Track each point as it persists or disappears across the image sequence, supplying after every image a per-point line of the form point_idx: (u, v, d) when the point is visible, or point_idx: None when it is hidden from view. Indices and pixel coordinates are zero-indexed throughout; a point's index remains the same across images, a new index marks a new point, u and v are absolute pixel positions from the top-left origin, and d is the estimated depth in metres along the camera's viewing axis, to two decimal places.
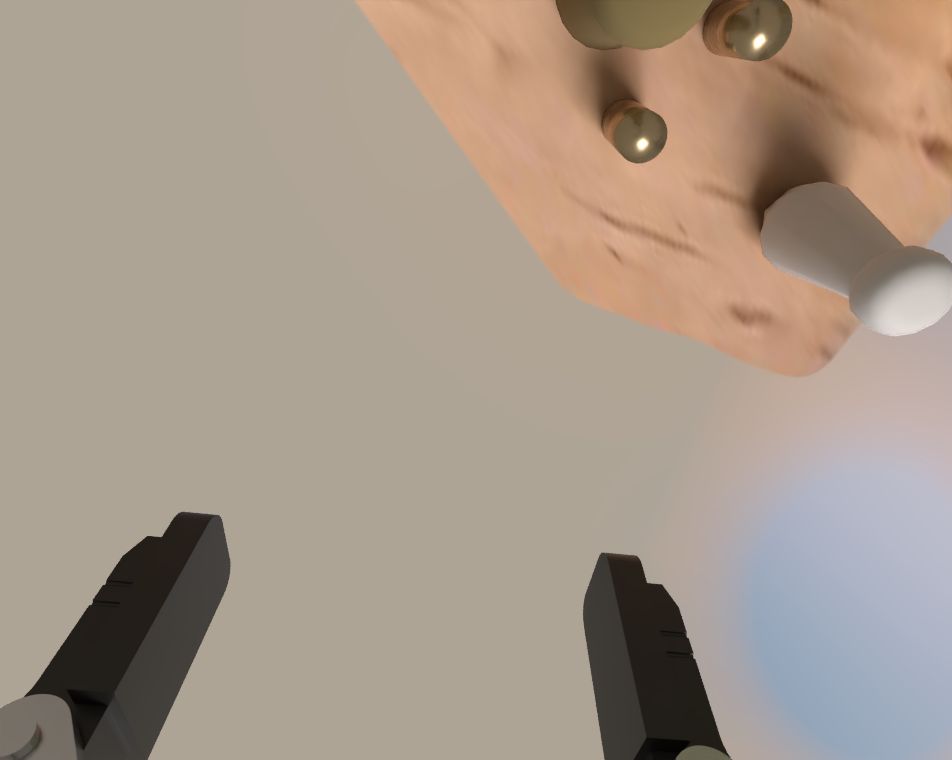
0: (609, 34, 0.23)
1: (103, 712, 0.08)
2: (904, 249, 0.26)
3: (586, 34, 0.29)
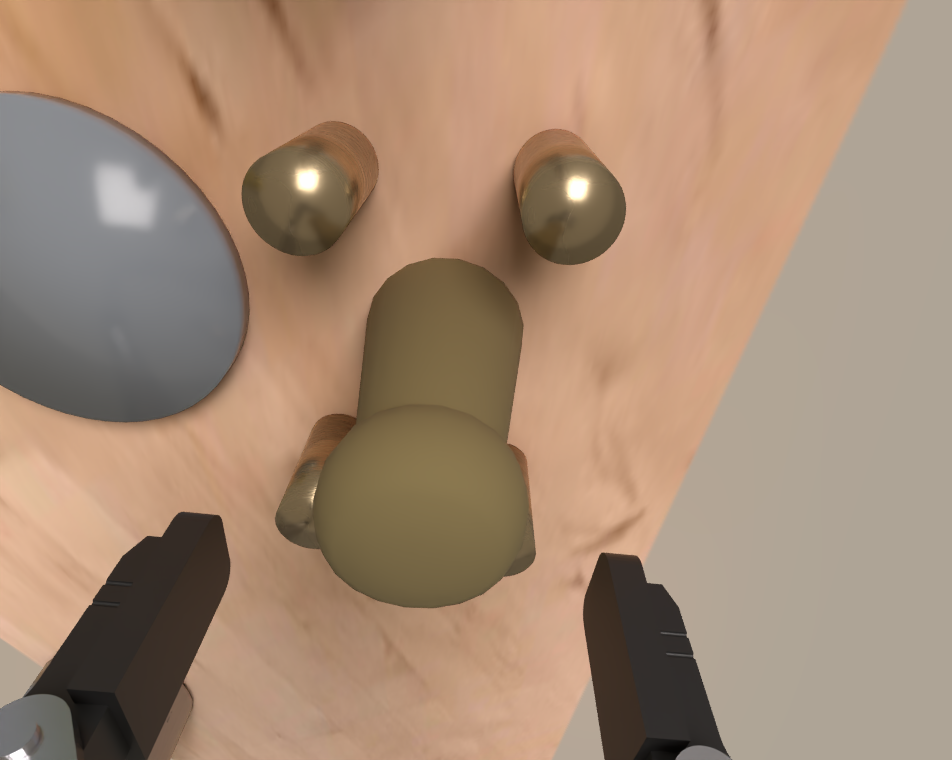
0: (528, 510, 0.13)
1: (103, 712, 0.08)
2: None
3: (516, 357, 0.19)
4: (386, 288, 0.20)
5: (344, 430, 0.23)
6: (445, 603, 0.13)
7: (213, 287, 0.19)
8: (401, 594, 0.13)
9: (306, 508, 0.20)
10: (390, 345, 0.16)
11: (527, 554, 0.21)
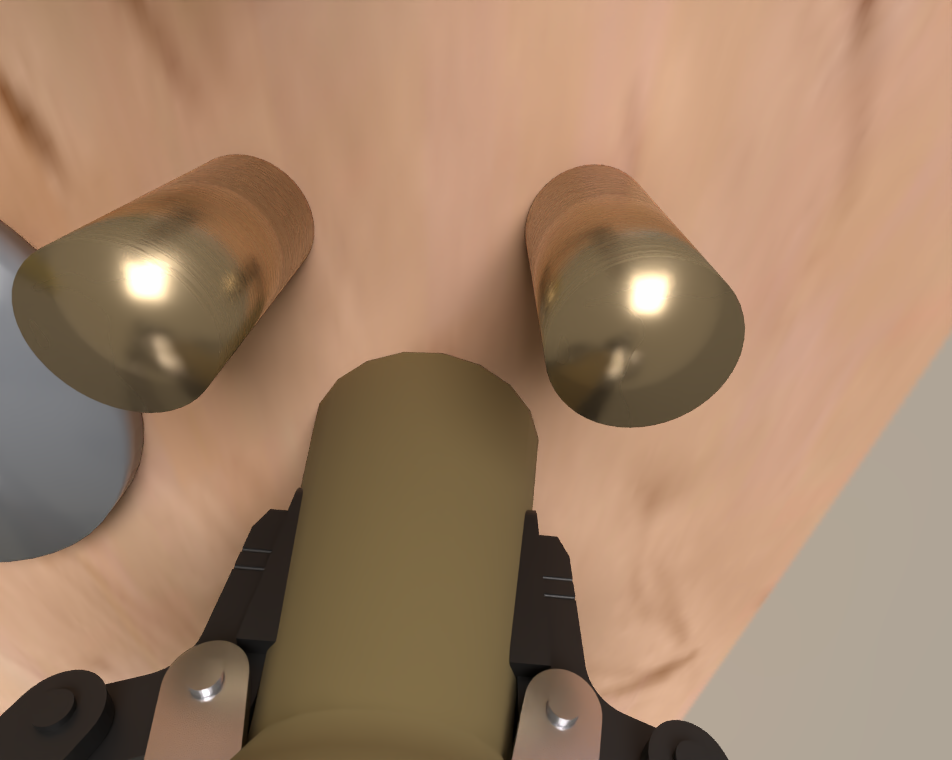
0: None
1: None
2: None
3: None
4: (334, 398, 0.13)
5: None
6: None
7: (75, 399, 0.13)
8: None
9: None
10: (322, 532, 0.10)
11: None
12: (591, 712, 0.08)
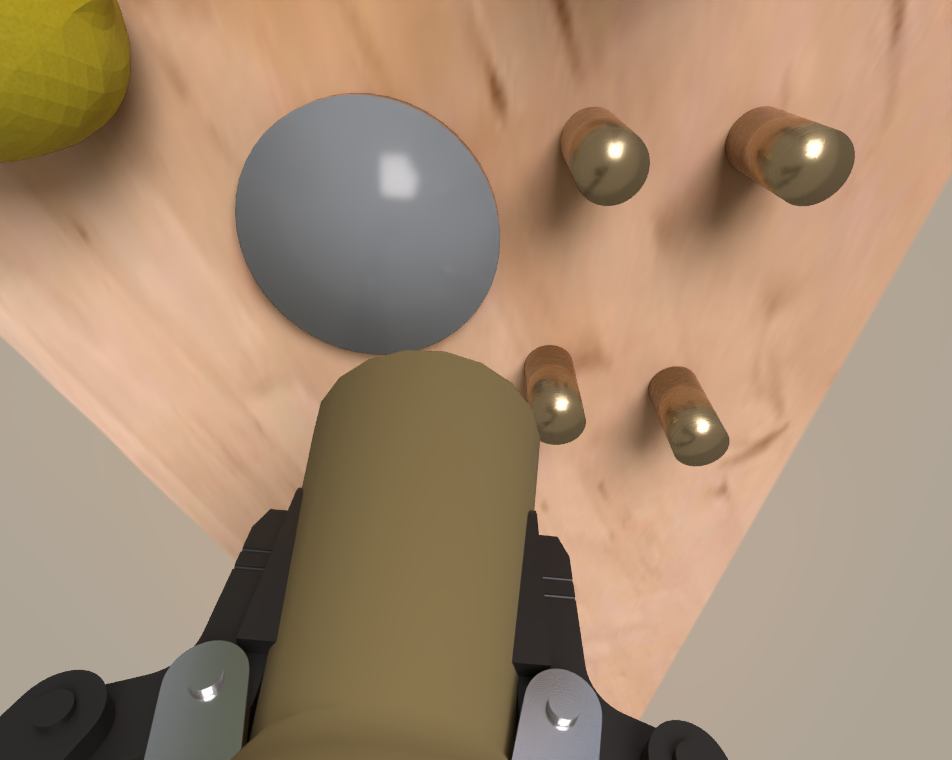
0: None
1: (266, 660, 0.09)
2: None
3: None
4: (336, 397, 0.13)
5: (560, 356, 0.28)
6: None
7: (483, 240, 0.25)
8: None
9: (557, 409, 0.25)
10: (324, 530, 0.10)
11: (722, 445, 0.26)
12: (591, 712, 0.08)
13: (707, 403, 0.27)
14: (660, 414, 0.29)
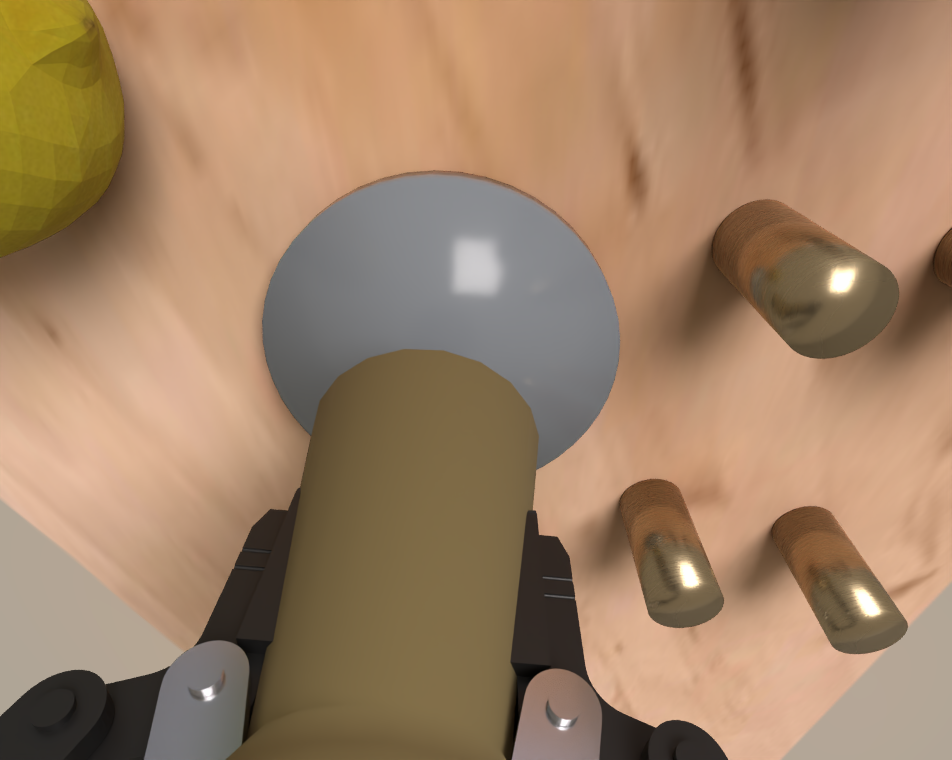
0: None
1: None
2: None
3: (530, 509, 0.12)
4: (334, 396, 0.13)
5: (674, 498, 0.22)
6: None
7: (595, 363, 0.19)
8: None
9: (689, 590, 0.19)
10: (322, 528, 0.10)
11: (896, 634, 0.20)
12: (591, 712, 0.08)
13: (868, 569, 0.21)
14: (800, 575, 0.22)
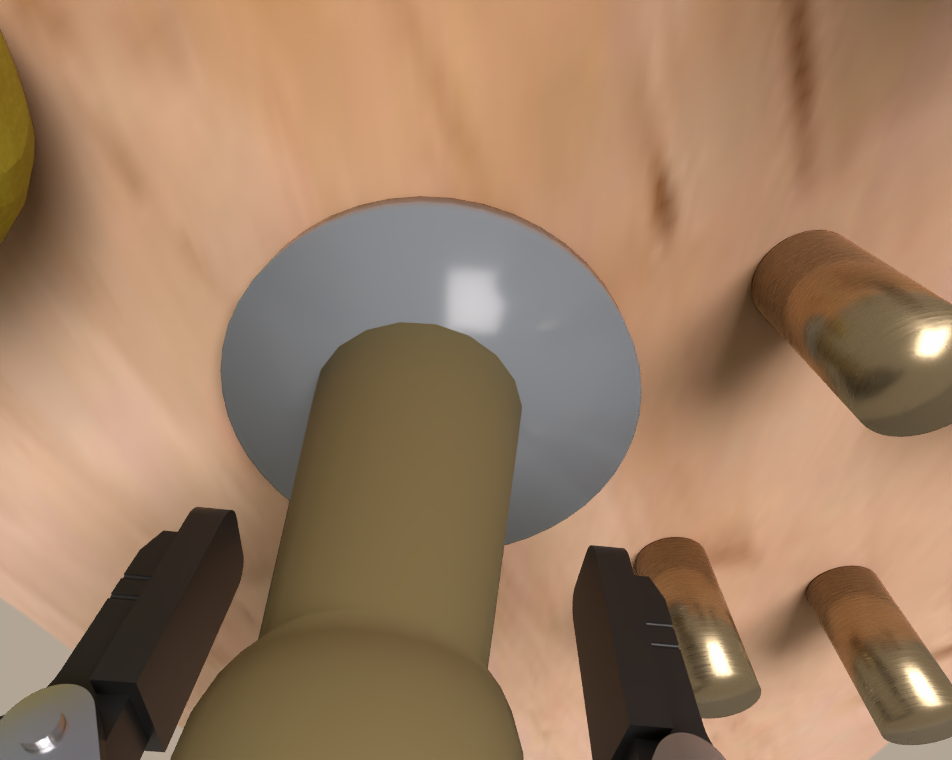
0: None
1: (124, 702, 0.08)
2: None
3: (512, 468, 0.14)
4: (335, 363, 0.14)
5: (699, 562, 0.19)
6: None
7: (612, 418, 0.16)
8: None
9: (720, 682, 0.16)
10: (325, 473, 0.11)
11: None
12: None
13: (923, 646, 0.18)
14: (842, 649, 0.19)
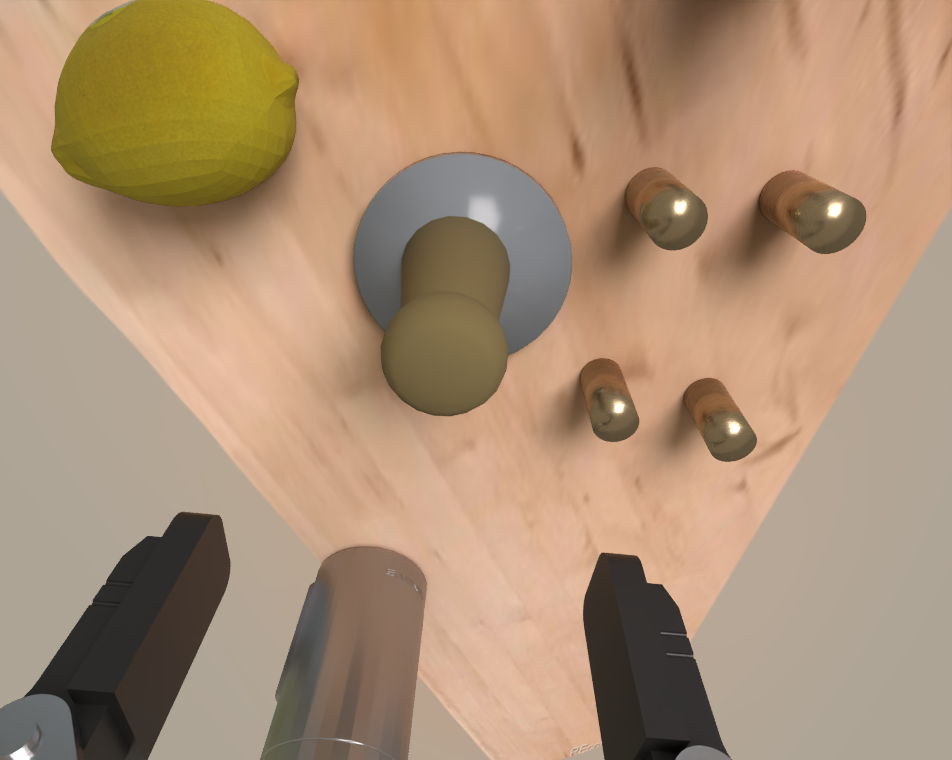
0: (507, 354, 0.22)
1: (103, 712, 0.08)
2: None
3: (504, 282, 0.28)
4: (416, 236, 0.29)
5: (613, 368, 0.34)
6: (457, 409, 0.22)
7: (557, 271, 0.30)
8: (432, 400, 0.22)
9: (616, 411, 0.31)
10: (422, 266, 0.26)
11: (750, 444, 0.32)
12: None
13: (737, 409, 0.33)
14: (696, 418, 0.34)
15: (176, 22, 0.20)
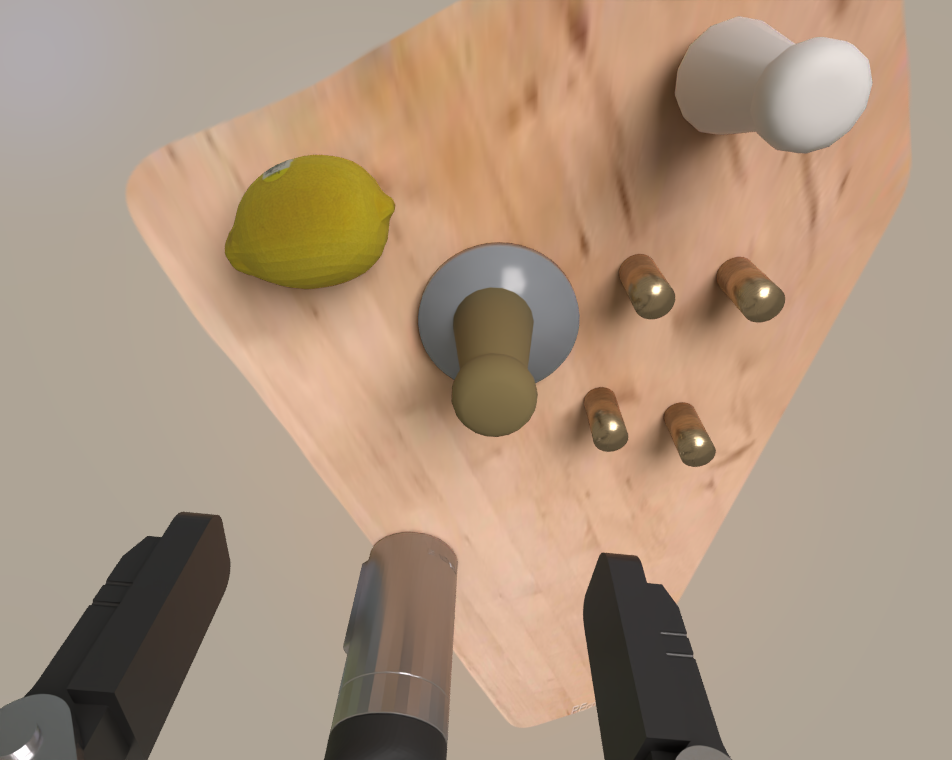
0: None
1: (103, 712, 0.08)
2: (768, 143, 0.25)
3: (531, 337, 0.39)
4: (466, 302, 0.40)
5: (609, 395, 0.45)
6: (503, 432, 0.33)
7: (568, 325, 0.41)
8: (487, 426, 0.33)
9: (611, 429, 0.42)
10: (475, 330, 0.36)
11: (711, 454, 0.43)
12: None
13: (702, 427, 0.44)
14: (672, 433, 0.45)
15: (324, 181, 0.31)
